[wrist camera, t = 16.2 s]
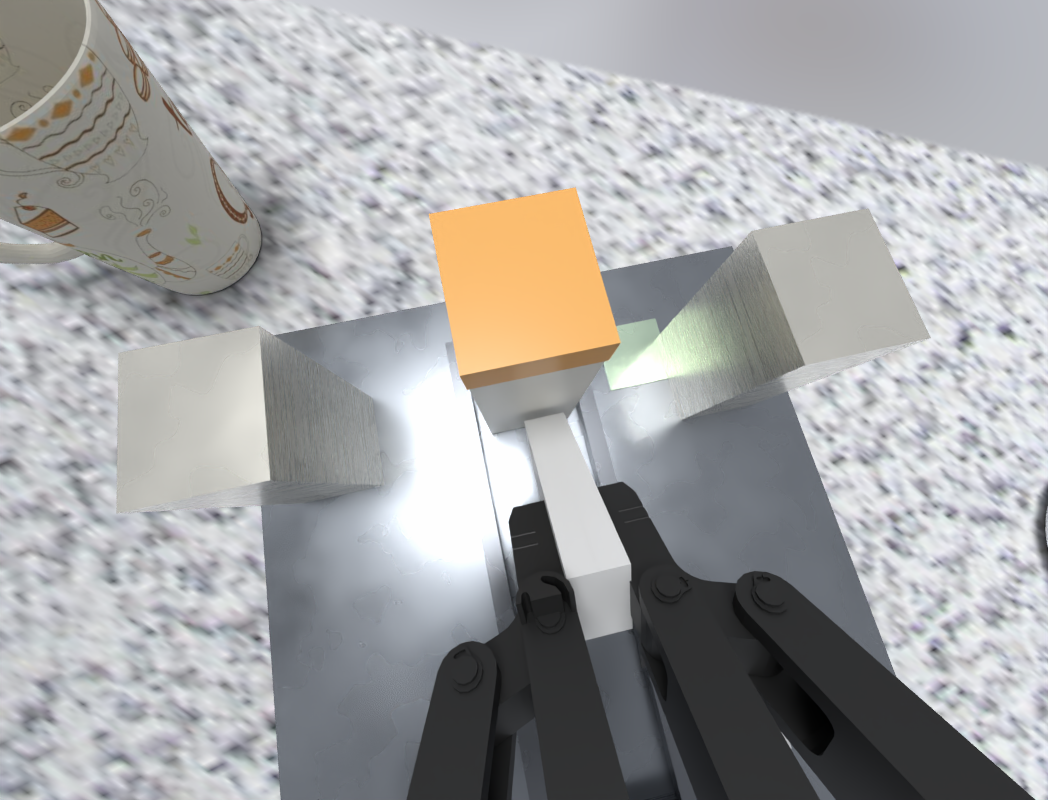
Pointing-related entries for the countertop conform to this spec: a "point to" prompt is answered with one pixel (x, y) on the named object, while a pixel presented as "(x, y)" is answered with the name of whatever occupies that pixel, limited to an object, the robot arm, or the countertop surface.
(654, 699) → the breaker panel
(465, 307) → the handle
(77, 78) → the mug
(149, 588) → the countertop surface
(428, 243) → the countertop surface
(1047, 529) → the supplement tub
